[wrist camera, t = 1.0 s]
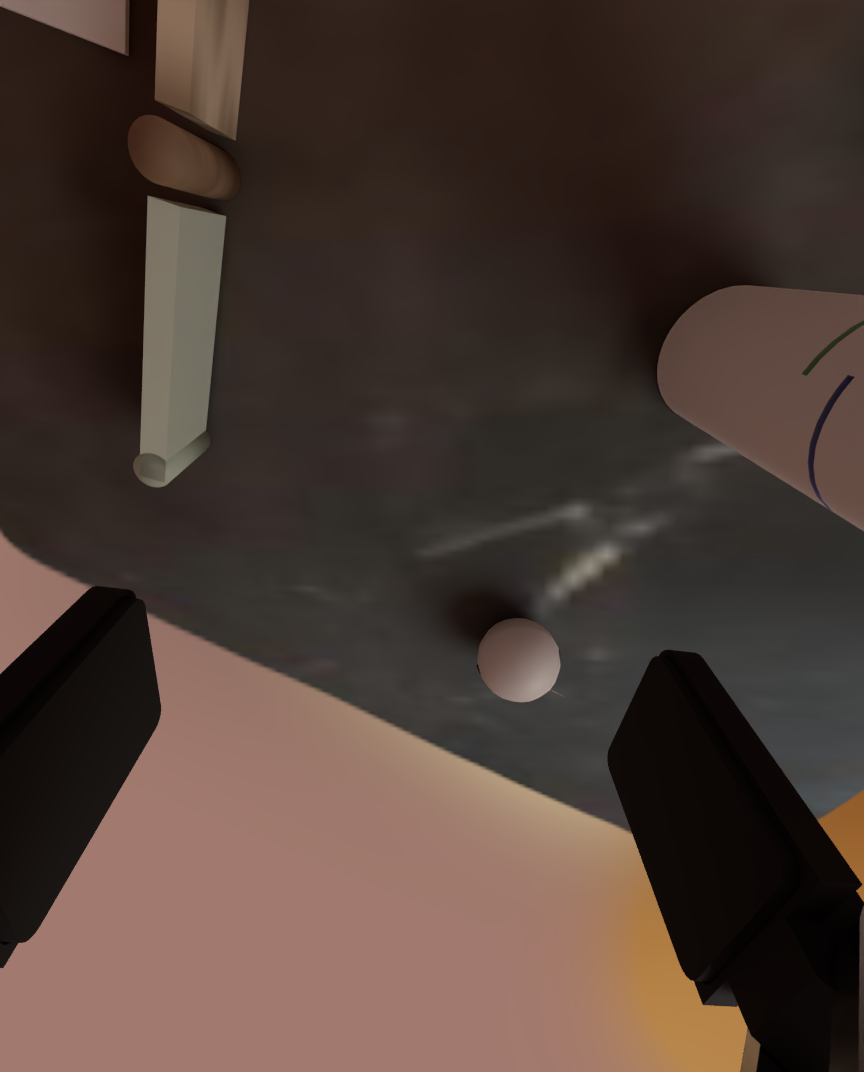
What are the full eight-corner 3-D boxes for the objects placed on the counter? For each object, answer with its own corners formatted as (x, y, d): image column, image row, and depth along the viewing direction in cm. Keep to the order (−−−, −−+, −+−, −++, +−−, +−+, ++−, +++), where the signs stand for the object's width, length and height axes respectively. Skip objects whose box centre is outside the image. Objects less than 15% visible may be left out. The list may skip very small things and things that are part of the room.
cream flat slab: (193, 204, 23) (139, 192, 19) (232, 218, 23) (188, 209, 19) (177, 447, 29) (133, 481, 25) (208, 456, 29) (170, 491, 25)
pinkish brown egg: (458, 625, 36) (463, 683, 31) (526, 588, 35) (543, 643, 30) (511, 687, 39) (523, 748, 34) (576, 656, 38) (598, 715, 33)
